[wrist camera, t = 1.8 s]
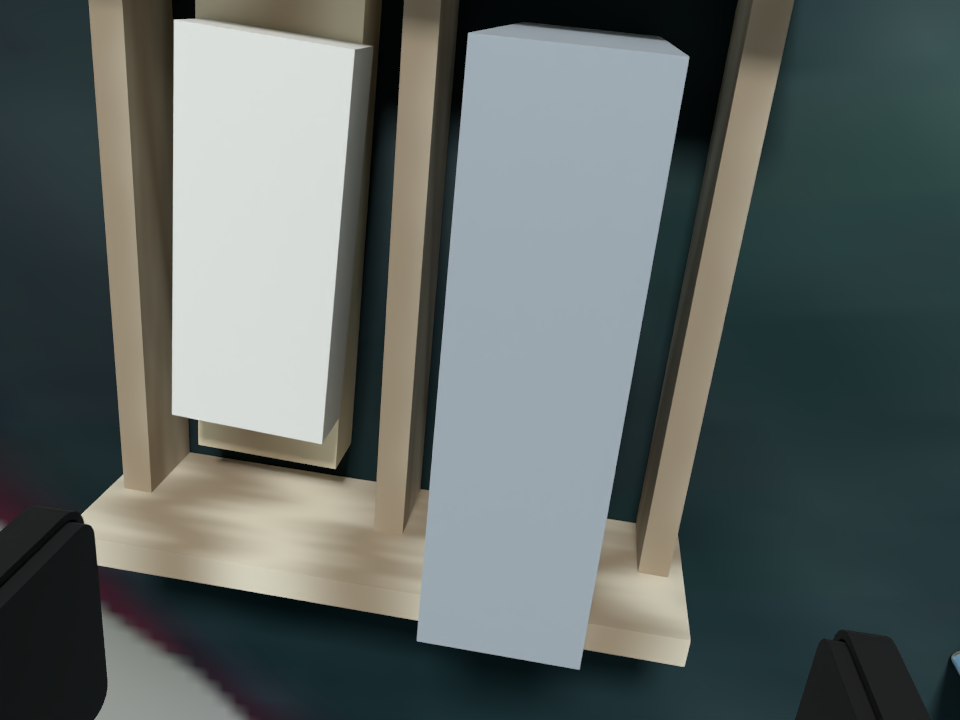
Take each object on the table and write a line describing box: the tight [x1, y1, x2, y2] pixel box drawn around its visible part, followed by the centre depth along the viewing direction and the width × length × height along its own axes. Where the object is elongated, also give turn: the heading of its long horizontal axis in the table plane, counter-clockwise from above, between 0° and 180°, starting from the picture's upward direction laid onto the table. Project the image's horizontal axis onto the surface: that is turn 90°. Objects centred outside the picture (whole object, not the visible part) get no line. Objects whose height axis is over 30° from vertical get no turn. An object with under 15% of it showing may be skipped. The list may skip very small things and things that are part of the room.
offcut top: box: [172, 18, 374, 444], centre depth 26 cm, size 5×12×2 cm, turn 172°
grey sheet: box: [417, 22, 689, 670], centre depth 23 cm, size 4×14×11 cm, turn 174°
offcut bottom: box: [195, 0, 382, 469], centre depth 29 cm, size 5×16×2 cm, turn 173°
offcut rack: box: [81, 0, 794, 667], centre depth 26 cm, size 20×21×6 cm
